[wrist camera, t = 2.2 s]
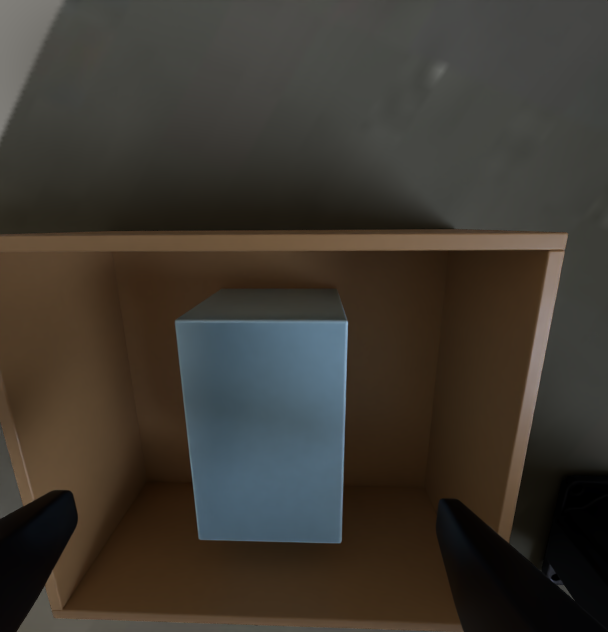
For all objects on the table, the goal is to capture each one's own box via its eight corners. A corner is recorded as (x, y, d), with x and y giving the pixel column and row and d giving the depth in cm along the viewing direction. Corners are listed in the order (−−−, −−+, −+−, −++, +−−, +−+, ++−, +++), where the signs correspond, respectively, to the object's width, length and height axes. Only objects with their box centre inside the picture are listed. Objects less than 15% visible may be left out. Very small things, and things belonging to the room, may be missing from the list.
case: (337, 288, 14) (348, 320, 10) (334, 450, 16) (341, 544, 12) (220, 288, 14) (173, 320, 10) (232, 448, 17) (197, 541, 12)
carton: (457, 229, 14) (569, 232, 8) (428, 487, 17) (492, 634, 11) (105, 231, 14) (-52, 235, 8) (144, 482, 18) (53, 618, 12)
